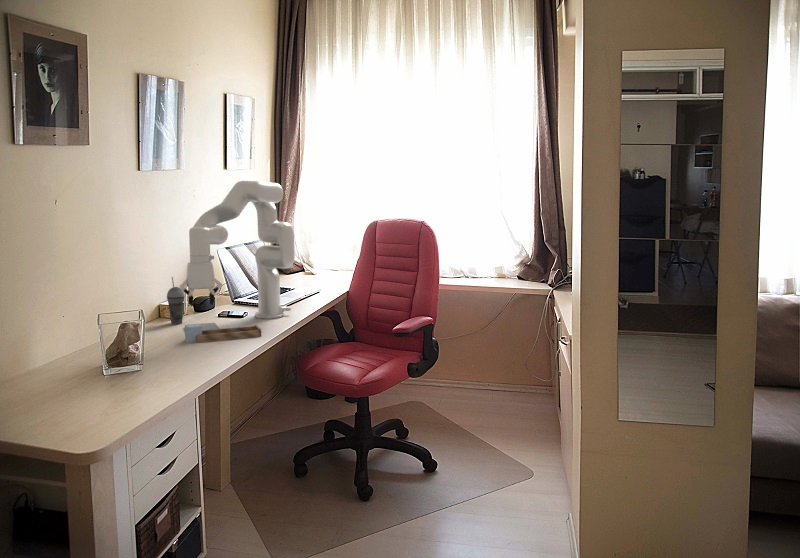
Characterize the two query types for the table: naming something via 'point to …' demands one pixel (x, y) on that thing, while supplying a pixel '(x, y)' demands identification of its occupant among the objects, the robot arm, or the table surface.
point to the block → (192, 332)
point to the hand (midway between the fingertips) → (201, 304)
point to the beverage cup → (175, 304)
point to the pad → (209, 326)
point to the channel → (229, 333)
